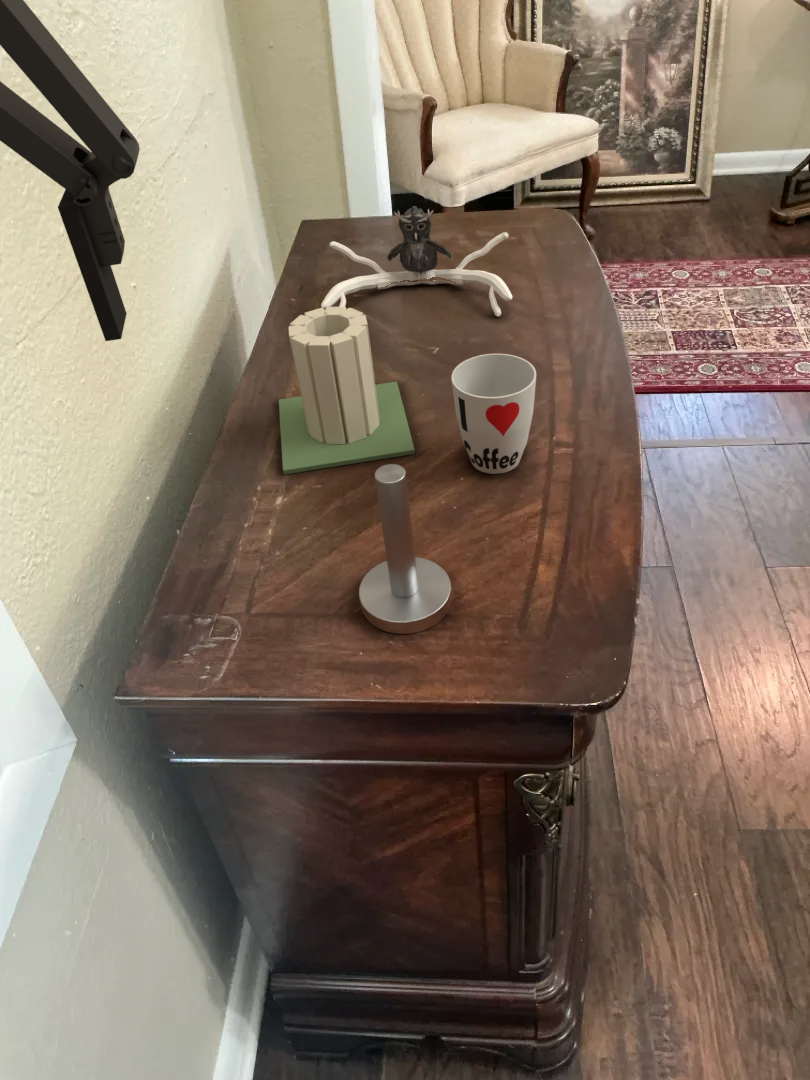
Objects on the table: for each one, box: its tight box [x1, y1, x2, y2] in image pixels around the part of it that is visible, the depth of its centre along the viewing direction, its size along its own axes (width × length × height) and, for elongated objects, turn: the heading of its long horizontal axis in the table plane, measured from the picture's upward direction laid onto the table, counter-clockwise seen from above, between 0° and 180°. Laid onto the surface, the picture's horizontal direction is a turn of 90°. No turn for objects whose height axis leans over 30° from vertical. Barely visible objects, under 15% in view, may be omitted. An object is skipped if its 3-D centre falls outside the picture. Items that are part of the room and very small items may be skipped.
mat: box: [278, 381, 416, 475], centre depth 96 cm, size 14×14×1 cm
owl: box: [320, 205, 514, 318], centre depth 114 cm, size 25×14×13 cm, turn 85°
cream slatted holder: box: [287, 306, 380, 444], centre depth 92 cm, size 8×8×12 cm
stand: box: [358, 463, 453, 635], centre depth 71 cm, size 8×8×14 cm
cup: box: [451, 353, 537, 475], centre depth 86 cm, size 8×8×10 cm
